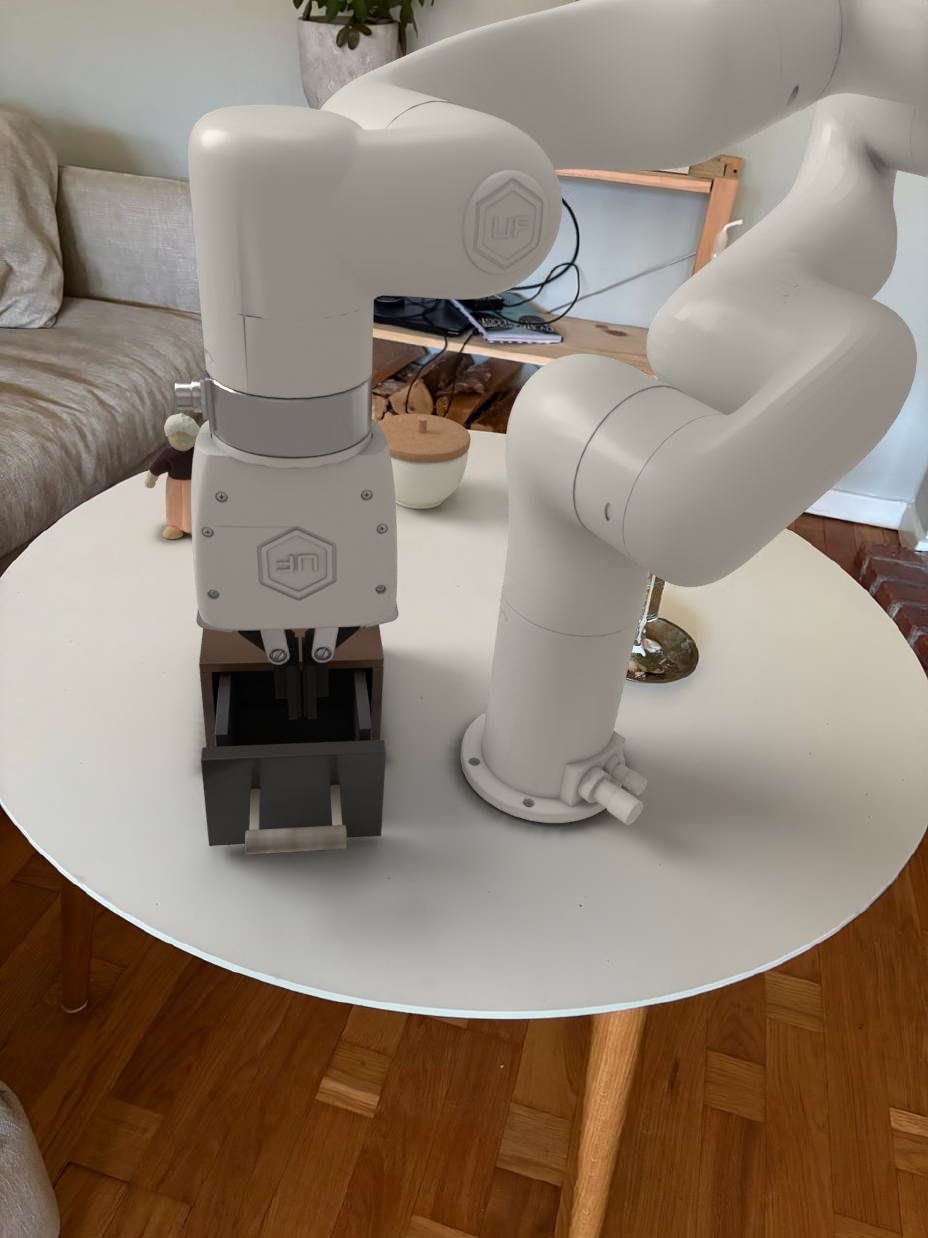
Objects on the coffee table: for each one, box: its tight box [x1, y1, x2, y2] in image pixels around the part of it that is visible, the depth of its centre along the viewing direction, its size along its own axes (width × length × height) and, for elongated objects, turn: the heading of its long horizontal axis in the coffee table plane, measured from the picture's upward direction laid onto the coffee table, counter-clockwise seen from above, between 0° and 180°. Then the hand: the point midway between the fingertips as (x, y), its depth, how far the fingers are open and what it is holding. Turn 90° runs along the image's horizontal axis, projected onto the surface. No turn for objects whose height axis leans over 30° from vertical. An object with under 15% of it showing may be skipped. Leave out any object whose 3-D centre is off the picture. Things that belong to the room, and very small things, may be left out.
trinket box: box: [376, 413, 472, 510], centre depth 105 cm, size 11×11×9 cm
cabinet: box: [198, 625, 385, 747], centre depth 75 cm, size 15×13×10 cm
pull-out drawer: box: [200, 668, 387, 855], centre depth 65 cm, size 18×11×8 cm, turn 9°
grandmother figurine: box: [144, 412, 201, 540], centre depth 94 cm, size 8×4×13 cm, turn 122°
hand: (302, 702), depth 56 cm, fingers closed
